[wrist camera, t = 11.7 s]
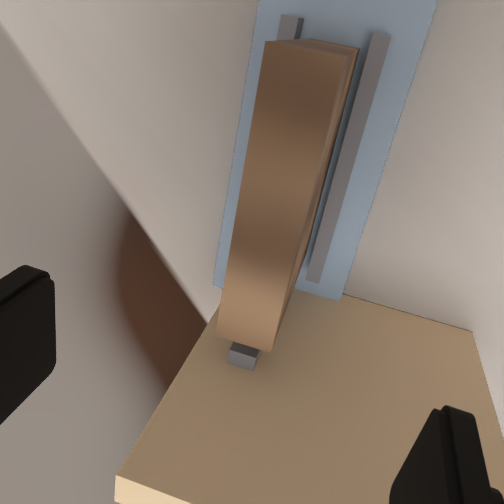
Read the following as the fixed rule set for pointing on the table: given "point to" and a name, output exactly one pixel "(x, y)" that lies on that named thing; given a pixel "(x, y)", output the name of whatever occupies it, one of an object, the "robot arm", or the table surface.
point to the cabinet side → (317, 321)
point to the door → (282, 182)
